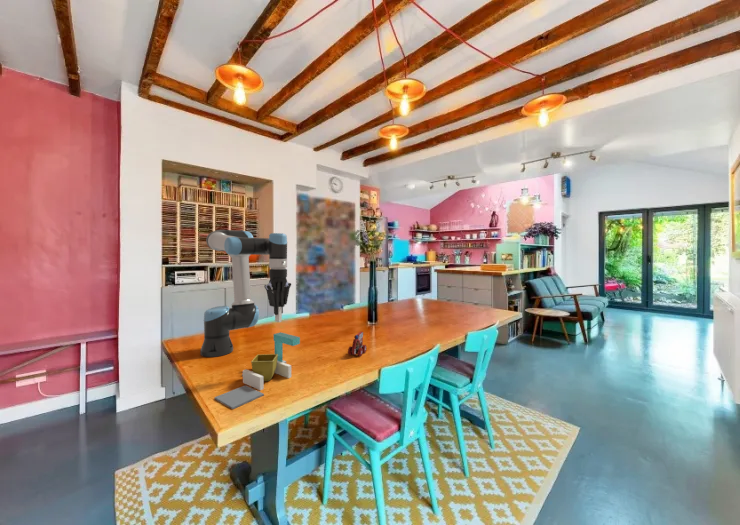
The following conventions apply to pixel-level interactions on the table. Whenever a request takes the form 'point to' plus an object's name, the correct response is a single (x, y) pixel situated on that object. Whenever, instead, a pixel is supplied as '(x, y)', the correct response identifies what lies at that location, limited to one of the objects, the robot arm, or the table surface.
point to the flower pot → (265, 365)
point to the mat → (239, 396)
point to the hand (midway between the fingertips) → (278, 321)
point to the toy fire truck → (357, 345)
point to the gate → (285, 339)
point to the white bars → (257, 380)
